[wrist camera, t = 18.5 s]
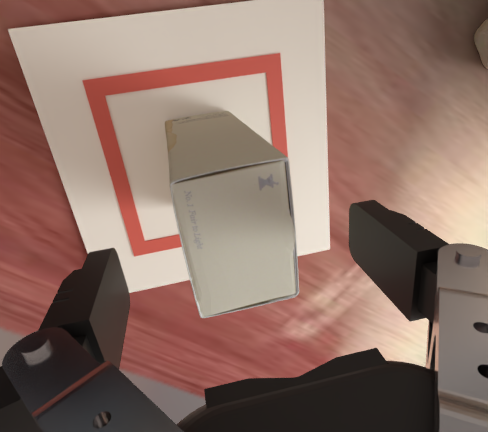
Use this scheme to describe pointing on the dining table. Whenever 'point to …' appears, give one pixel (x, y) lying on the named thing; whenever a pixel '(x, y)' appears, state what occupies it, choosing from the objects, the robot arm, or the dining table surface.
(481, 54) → the ceramic sculpture
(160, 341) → the dining table surface
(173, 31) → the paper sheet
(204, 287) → the skincare box
